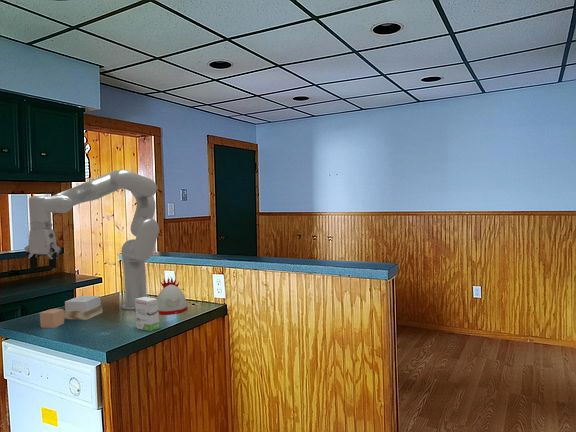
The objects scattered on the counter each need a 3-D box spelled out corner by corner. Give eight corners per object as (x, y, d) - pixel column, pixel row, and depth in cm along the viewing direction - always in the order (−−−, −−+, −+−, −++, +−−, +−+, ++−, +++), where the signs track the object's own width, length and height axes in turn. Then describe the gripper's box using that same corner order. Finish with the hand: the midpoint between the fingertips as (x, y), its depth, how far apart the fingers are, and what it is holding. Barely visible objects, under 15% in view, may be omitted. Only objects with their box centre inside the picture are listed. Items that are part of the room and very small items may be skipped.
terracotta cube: (64, 323, 174) (63, 309, 174) (53, 328, 168) (53, 313, 168) (51, 323, 175) (50, 308, 175) (40, 327, 169) (39, 312, 169)
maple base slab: (102, 313, 189) (102, 304, 189) (87, 320, 178) (86, 311, 178) (80, 312, 191) (80, 304, 191) (63, 320, 180) (63, 311, 180)
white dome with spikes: (154, 308, 193) (152, 276, 192) (184, 305, 198) (183, 273, 197) (157, 316, 180) (155, 282, 179) (189, 312, 185) (188, 278, 185)
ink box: (160, 328, 164) (158, 298, 163) (149, 331, 160) (147, 301, 159) (146, 324, 169) (145, 295, 168) (135, 328, 165) (134, 298, 164)
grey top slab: (100, 304, 188) (100, 296, 188) (86, 311, 178) (85, 301, 178) (80, 304, 190) (80, 295, 190) (65, 310, 180) (64, 301, 180)
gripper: (65, 225, 171) (67, 267, 172) (32, 225, 176) (34, 266, 177) (50, 226, 164) (52, 270, 165) (16, 227, 169) (18, 269, 170)
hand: (43, 268), depth 171 cm, fingers open, 9 cm apart
